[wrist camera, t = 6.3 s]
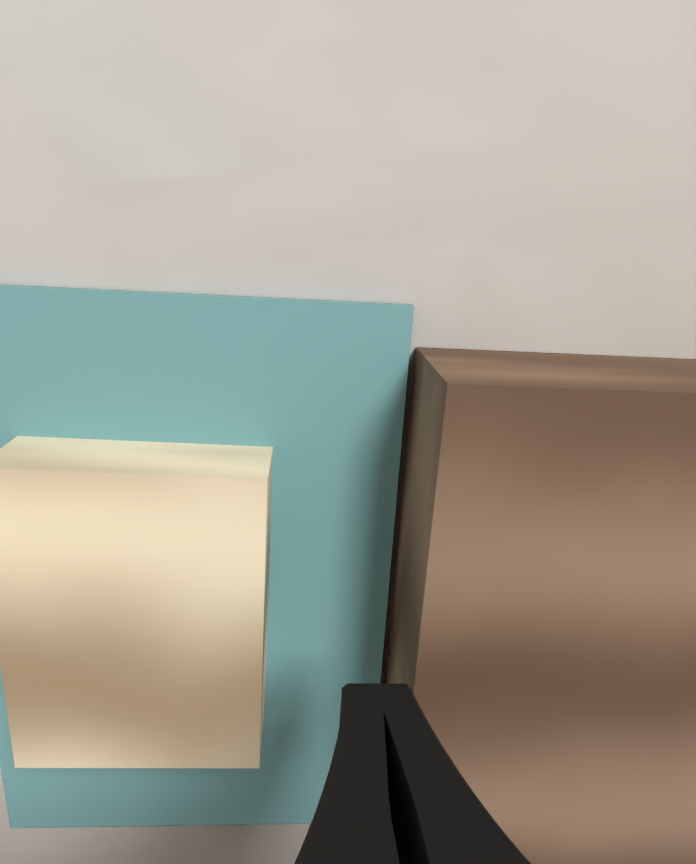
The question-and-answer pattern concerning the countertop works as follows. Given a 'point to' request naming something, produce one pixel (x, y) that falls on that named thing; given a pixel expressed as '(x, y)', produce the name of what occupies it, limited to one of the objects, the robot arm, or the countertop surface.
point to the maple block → (134, 602)
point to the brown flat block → (556, 594)
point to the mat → (290, 507)
